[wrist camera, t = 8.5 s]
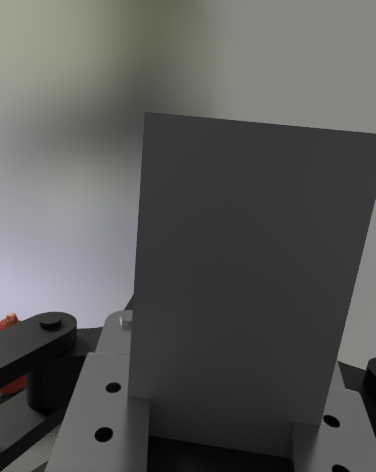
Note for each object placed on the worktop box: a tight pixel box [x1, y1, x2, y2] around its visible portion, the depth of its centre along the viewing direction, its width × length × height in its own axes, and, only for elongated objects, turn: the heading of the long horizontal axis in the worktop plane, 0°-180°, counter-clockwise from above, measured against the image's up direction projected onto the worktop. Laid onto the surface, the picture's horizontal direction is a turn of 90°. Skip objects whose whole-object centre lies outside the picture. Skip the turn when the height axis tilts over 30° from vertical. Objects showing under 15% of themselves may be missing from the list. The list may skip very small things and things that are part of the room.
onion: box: [0, 313, 25, 394], centre depth 29 cm, size 6×6×8 cm
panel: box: [127, 112, 376, 458], centre depth 10 cm, size 3×9×15 cm, turn 175°
